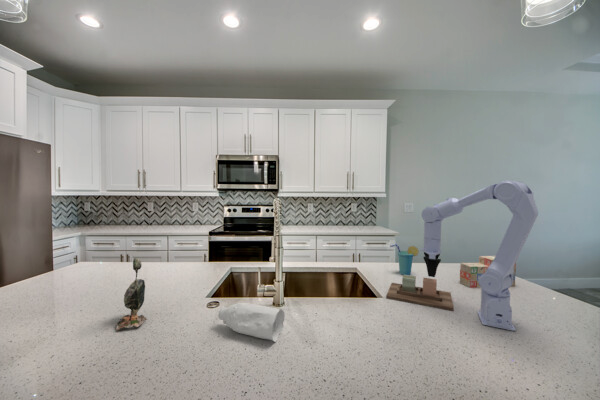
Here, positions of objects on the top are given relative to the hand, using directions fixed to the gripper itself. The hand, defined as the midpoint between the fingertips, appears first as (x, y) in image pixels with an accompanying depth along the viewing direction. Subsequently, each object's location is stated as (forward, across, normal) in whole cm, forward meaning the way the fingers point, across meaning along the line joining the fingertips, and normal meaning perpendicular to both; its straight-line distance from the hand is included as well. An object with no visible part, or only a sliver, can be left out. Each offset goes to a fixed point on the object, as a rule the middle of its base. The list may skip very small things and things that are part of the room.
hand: (431, 273), depth 96 cm
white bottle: (+10, +53, -45) cm, 70 cm away
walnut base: (+9, +1, -4) cm, 10 cm away
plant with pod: (+10, +64, -81) cm, 103 cm away
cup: (+10, -26, -12) cm, 31 cm away
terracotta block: (+8, +1, 0) cm, 8 cm away
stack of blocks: (+10, -29, +22) cm, 38 cm away
